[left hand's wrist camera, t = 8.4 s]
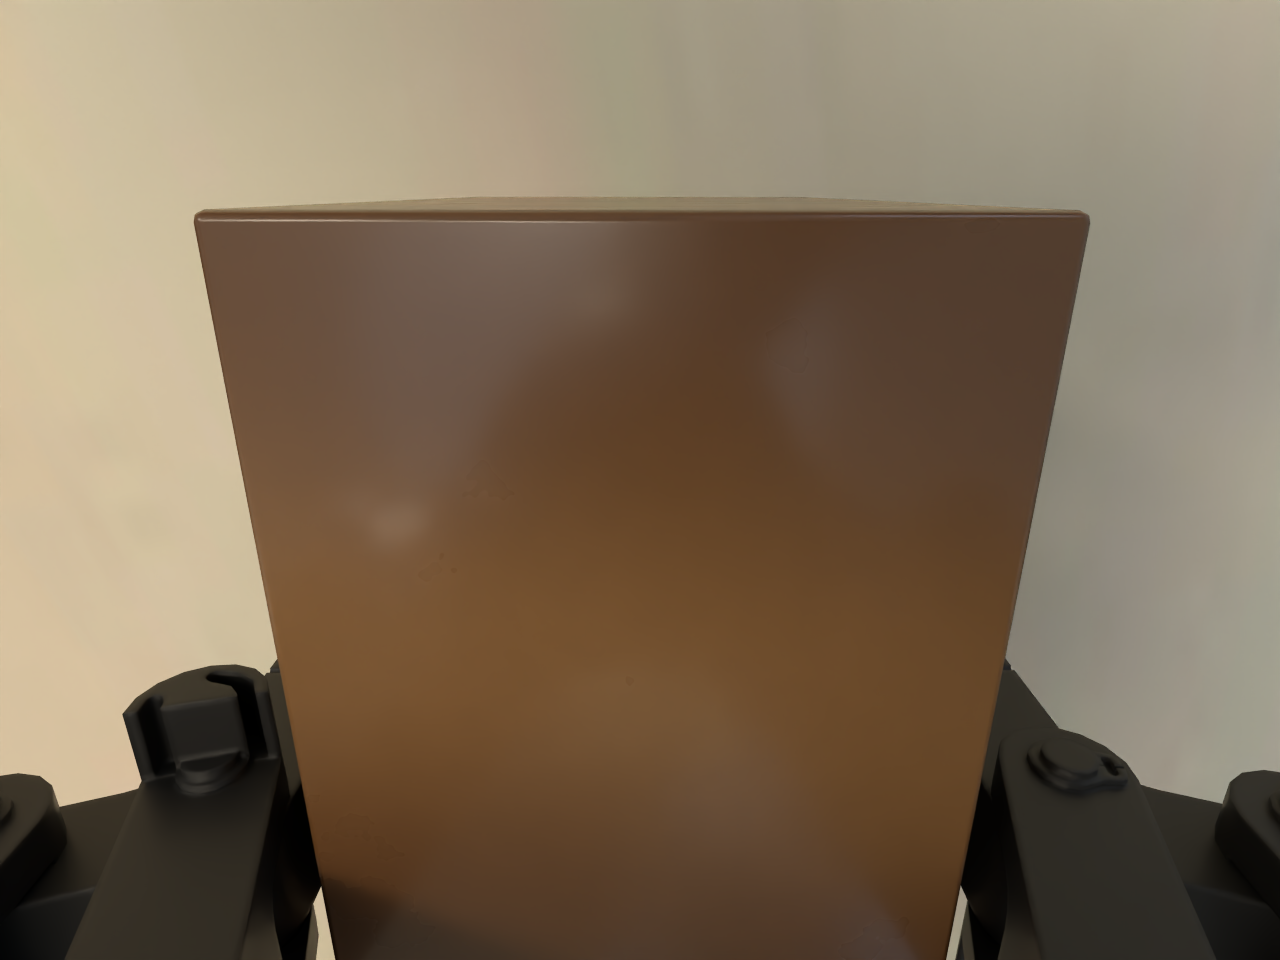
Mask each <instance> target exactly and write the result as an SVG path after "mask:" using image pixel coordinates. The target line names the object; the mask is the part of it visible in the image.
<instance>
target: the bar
mask: <svg viewBox="0 0 1280 960" xmlns="http://www.w3.org/2000/svg"><path fill="white" fill-rule="evenodd" d="M194 226H195V231H196V236H197V241H198V247H199V252H200V257H201V262H202V268H203V273H204V278H205V283H206V288H207V294H208V299H209V304H210V309H211V314H212V320H213V325H214V330H215V335H216V340H217V346H218V351H219V356H220V361H221V366H222V372H223V377H224V382H225V387H226V392H227V398H228V403H229V408H230V413H231V418H232V424H233V429H234V434H235V439H236V445H237V450H238V455H239V460H240V465H241V471H242V476H243V481H244V486H245V491H246V497H247V502H248V507H249V512H250V517H251V523H252V528H253V533H254V538H255V543H256V549H257V554H258V559H259V564H260V569H261V575H262V580H263V585H264V590H265V596H266V601H267V606H268V611H269V616H270V622H271V627H272V632H273V637H274V642H275V648H276V653H277V658H278V663H279V668H280V674H281V679H282V684H283V689H284V694H285V700H286V705H287V710H288V715H289V720H290V726H291V731H292V736H293V741H294V746H295V752H296V757H297V762H298V767H299V773H300V778H301V783H302V788H303V793H304V799H305V804H306V809H307V814H308V819H309V825H310V830H311V835H312V840H313V845H314V851H315V856H316V861H317V866H318V871H319V877H320V882H321V887H322V892H323V897H324V903H325V908H326V913H327V918H328V923H329V929H330V934H331V939H332V944H333V950H334V955H335V960H946V957H947V952H948V947H949V942H950V937H951V932H952V927H953V921H954V916H955V911H956V906H957V901H958V896H959V891H960V886H961V881H962V875H963V870H964V865H965V860H966V855H967V850H968V845H969V840H970V835H971V829H972V824H973V819H974V814H975V809H976V804H977V799H978V794H979V789H980V783H981V778H982V773H983V768H984V763H985V758H986V753H987V748H988V743H989V737H990V732H991V727H992V722H993V717H994V712H995V707H996V702H997V696H998V691H999V686H1000V681H1001V676H1002V671H1003V666H1004V661H1005V656H1006V650H1007V645H1008V640H1009V635H1010V630H1011V625H1012V620H1013V615H1014V610H1015V604H1016V599H1017V594H1018V589H1019V584H1020V579H1021V574H1022V569H1023V564H1024V558H1025V553H1026V548H1027V543H1028V538H1029V533H1030V528H1031V523H1032V518H1033V512H1034V507H1035V502H1036V497H1037V492H1038V487H1039V482H1040V477H1041V472H1042V466H1043V461H1044V456H1045V451H1046V446H1047V441H1048V436H1049V431H1050V426H1051V420H1052V415H1053V410H1054V405H1055V400H1056V395H1057V390H1058V385H1059V380H1060V374H1061V369H1062V364H1063V359H1064V354H1065V349H1066V344H1067V339H1068V334H1069V328H1070V323H1071V318H1072V313H1073V308H1074V303H1075V298H1076V293H1077V287H1078V282H1079V277H1080V272H1081V267H1082V262H1083V257H1084V252H1085V247H1086V241H1087V236H1088V231H1089V226H1090V219H1089V215H1088V214H1086V213H1084V212H1082V211H1080V210H1060V209H1039V208H1017V207H996V206H975V205H954V204H933V203H912V202H890V201H869V200H848V199H827V198H806V197H468V198H446V199H424V200H403V201H381V202H359V203H337V204H315V205H294V206H272V207H250V208H228V209H206V210H202V211H200V212H198V213H196V214H195V217H194Z"/></svg>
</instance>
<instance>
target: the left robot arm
mask: <svg viewBox="0 0 1280 960" xmlns="http://www.w3.org/2000/svg"><path fill="white" fill-rule="evenodd" d="M122 715H123V718H124V721H125V725H126V728H127V732H128V735H129V739H130V742H131V746H132V749H133V752H134V756H135V759H136V763H137V766H138V770H139V773H140V776H141V780H142V782H141V784H140V786H139V788H138V789H136V790H132V791H129V792H125V793H121V794H117V795H112V796H107V797H103V798H98V799H94V800H89V801H85V802H80V803H75V804H71V805H66V806H62V807H59V805H58V802H57V799H56V796H55V793H54V790H53V787H52V785H51V784H49V783H48V782H47V781H45V780H44V779H43V778H42V777H40V776H35V775H27V774H19V773H17V774H10V775H3V776H0V960H316V954H317V944H318V928H317V921H316V915H315V910H314V905H313V903H314V901H315V898H316V896H317V894H318V892H319V890H320V887H321V882H320V877H319V871H318V866H317V861H316V856H315V851H314V845H313V840H312V835H311V830H310V825H309V819H308V814H307V809H306V804H305V799H304V793H303V788H302V783H301V778H300V773H299V767H298V762H297V757H296V752H295V746H294V741H293V736H292V731H291V726H290V720H289V715H288V710H287V705H286V700H285V694H284V689H283V684H282V679H281V674H280V668H279V663H278V659H277V660H276V661H275V663H274V664H273V665H272V667H271V668H270V673H266V675H265V676H264V675H262V674H261V673H260V672H259V671H257V670H256V669H254V668H250V667H245V666H240V665H216V666H208V667H204V668H200V669H196V670H191V671H187V672H183V673H181V674H179V675H176V676H174V677H172V678H169V679H167V680H165V681H162V682H160V683H158V684H156V685H155V686H153V687H152V688H150V689H149V690H147V691H146V692H144V693H143V694H141V695H140V696H138V697H137V698H136V699H135V700H134V701H133V702H132V703H131V705H130V706H129V707H128V708H127V709H126V711H125V712H124V713H123V714H122ZM961 887H962V889H963V891H964V893H965V895H966V898H967V900H968V901H967V905H966V910H965V915H964V920H963V925H962V930H961V935H960V939H959V944H958V949H957V954H956V959H955V960H1280V772H1274V771H1267V770H1261V771H1252V772H1244V773H1241V774H1240V775H1239V776H1237V777H1236V778H1235V779H1233V780H1232V781H1231V782H1230V784H1229V786H1228V789H1227V792H1226V795H1225V798H1224V801H1223V804H1220V803H1216V802H1211V801H1207V800H1202V799H1197V798H1193V797H1188V796H1184V795H1179V794H1174V793H1170V792H1165V791H1161V790H1157V789H1153V788H1150V787H1146V786H1143V785H1140V782H1139V780H1138V779H1137V777H1136V776H1135V775H1134V773H1133V772H1132V770H1131V769H1130V768H1129V766H1128V765H1127V763H1126V762H1125V761H1123V760H1122V759H1121V758H1119V757H1118V756H1117V755H1116V754H1114V753H1113V752H1112V751H1110V750H1109V749H1108V748H1107V747H1105V746H1103V745H1101V744H1099V743H1097V742H1095V741H1093V740H1091V739H1089V738H1087V737H1085V736H1082V735H1080V734H1077V733H1073V732H1069V731H1066V730H1062V729H1059V728H1058V727H1057V725H1056V724H1055V723H1054V721H1053V720H1052V719H1051V717H1050V716H1049V715H1048V714H1047V712H1046V711H1045V710H1044V708H1043V707H1042V706H1041V704H1040V703H1039V702H1038V700H1037V699H1036V698H1035V697H1034V695H1033V694H1032V693H1031V691H1030V690H1029V689H1028V687H1027V686H1026V685H1025V684H1024V682H1023V681H1022V680H1021V678H1020V677H1019V676H1018V674H1017V673H1016V672H1015V671H1014V670H1011V665H1010V664H1009V663H1008V661H1007V660H1006V659H1005V661H1004V666H1003V671H1002V676H1001V681H1000V686H999V691H998V696H997V702H996V707H995V712H994V717H993V722H992V727H991V732H990V737H989V743H988V748H987V753H986V758H985V763H984V768H983V773H982V778H981V783H980V789H979V794H978V799H977V804H976V809H975V814H974V819H973V824H972V829H971V835H970V840H969V845H968V850H967V855H966V860H965V865H964V870H963V875H962V881H961Z"/></svg>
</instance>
